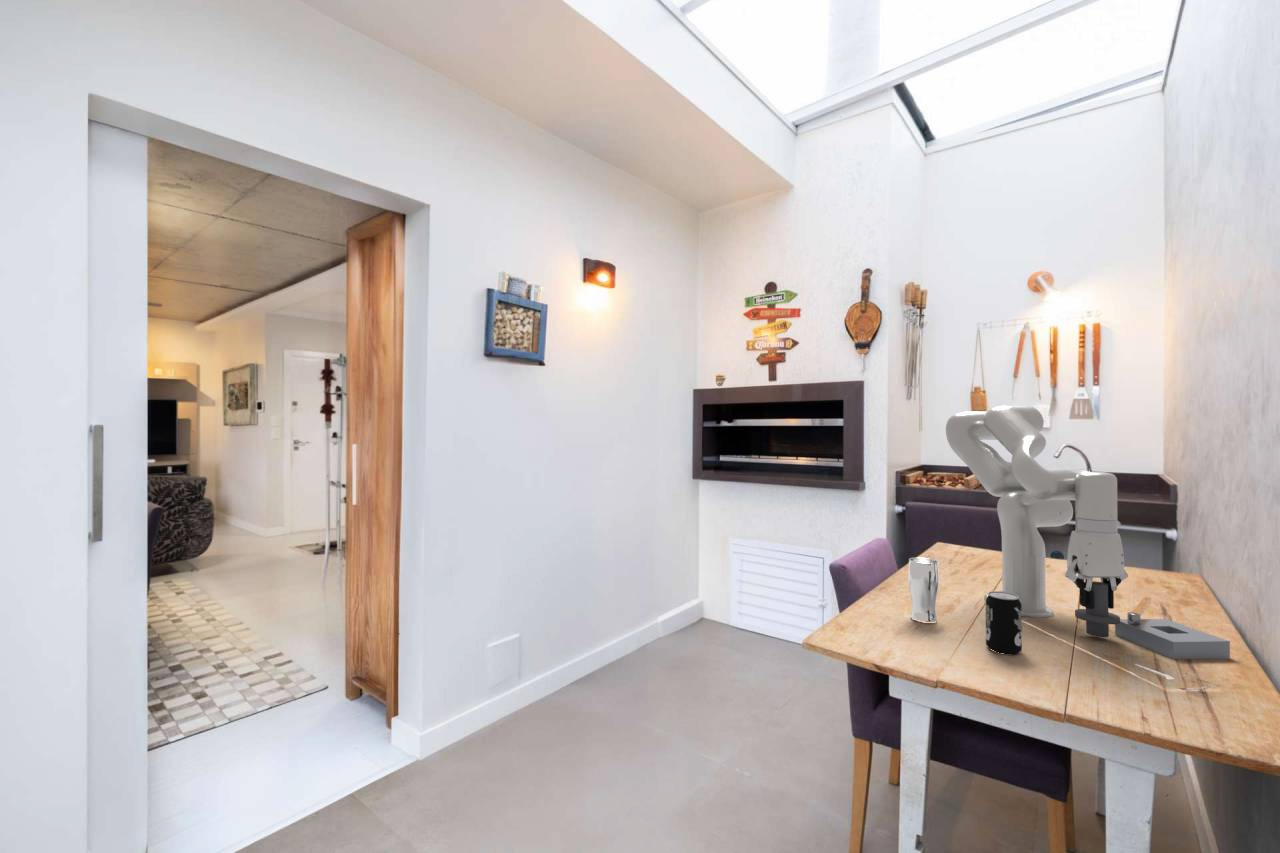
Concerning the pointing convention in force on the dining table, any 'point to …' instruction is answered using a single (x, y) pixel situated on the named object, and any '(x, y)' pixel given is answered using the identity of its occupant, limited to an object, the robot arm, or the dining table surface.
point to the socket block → (1173, 639)
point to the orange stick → (1138, 611)
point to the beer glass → (923, 588)
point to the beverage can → (1004, 622)
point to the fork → (1170, 678)
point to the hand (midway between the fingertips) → (1096, 606)
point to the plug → (1098, 612)
